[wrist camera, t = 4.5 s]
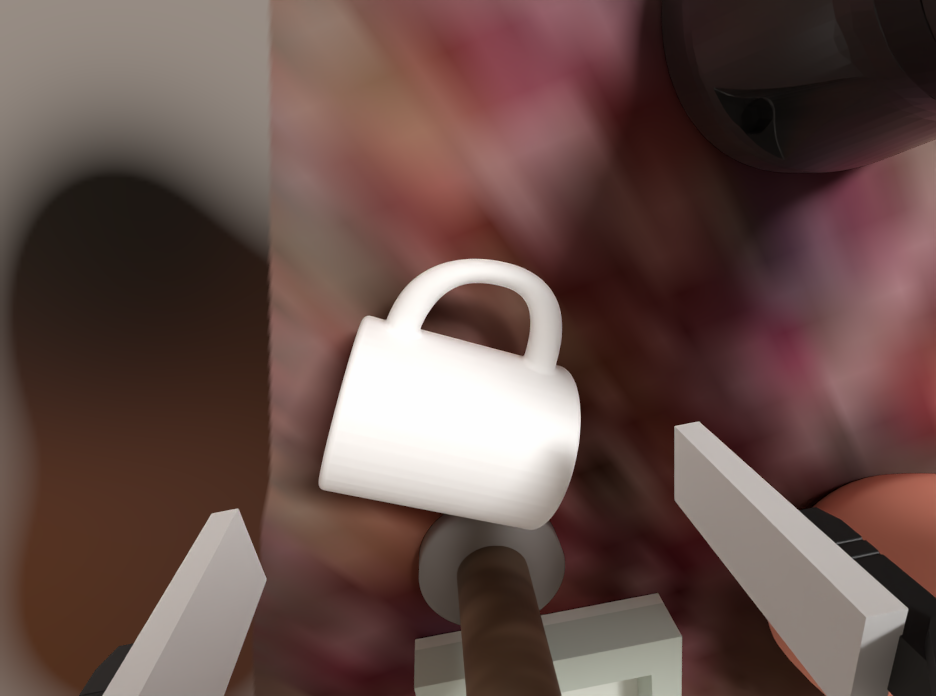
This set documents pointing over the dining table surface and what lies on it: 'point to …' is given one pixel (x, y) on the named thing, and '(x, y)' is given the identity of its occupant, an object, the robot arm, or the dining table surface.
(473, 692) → the bobbin
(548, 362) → the mug
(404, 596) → the dining table surface
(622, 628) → the notched board
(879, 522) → the teapot
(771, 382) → the dining table surface
